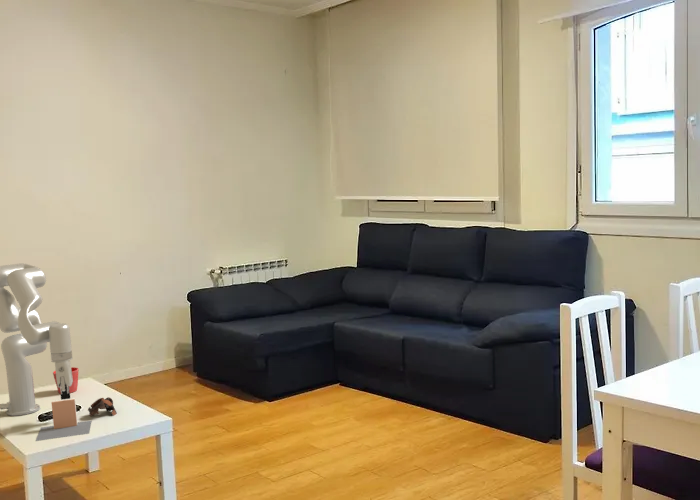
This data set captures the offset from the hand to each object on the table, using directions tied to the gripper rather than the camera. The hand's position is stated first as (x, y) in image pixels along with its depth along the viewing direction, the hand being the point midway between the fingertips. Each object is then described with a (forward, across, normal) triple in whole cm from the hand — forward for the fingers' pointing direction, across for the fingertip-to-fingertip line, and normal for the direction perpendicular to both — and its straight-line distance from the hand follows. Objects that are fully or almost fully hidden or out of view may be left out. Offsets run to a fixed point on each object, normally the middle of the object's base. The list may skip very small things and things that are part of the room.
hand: (66, 403), depth 283 cm
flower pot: (+7, +48, +4) cm, 49 cm away
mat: (+7, -13, 0) cm, 15 cm away
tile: (+7, -8, 0) cm, 10 cm away
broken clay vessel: (+8, +2, -13) cm, 15 cm away
